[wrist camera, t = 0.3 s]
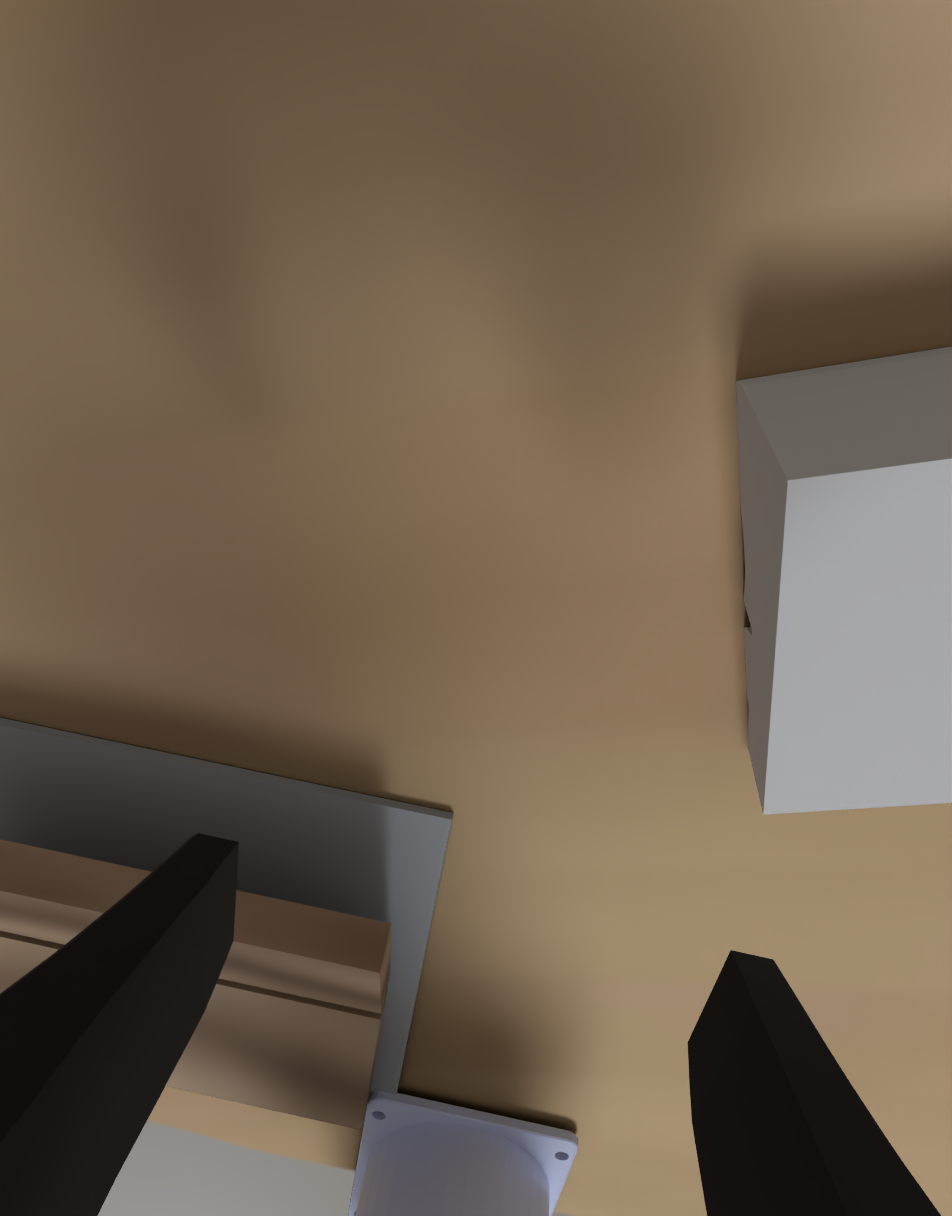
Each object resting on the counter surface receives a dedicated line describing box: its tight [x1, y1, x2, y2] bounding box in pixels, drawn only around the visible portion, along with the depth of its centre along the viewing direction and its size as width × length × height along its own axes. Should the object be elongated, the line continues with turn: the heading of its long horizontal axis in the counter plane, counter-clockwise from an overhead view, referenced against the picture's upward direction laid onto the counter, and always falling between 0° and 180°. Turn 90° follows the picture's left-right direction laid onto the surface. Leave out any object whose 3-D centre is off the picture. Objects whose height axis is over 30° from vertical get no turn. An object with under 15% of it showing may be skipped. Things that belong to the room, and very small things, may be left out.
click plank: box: [0, 839, 391, 1014], centre depth 22 cm, size 7×14×1 cm, turn 81°
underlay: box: [0, 718, 453, 1096], centre depth 26 cm, size 14×16×1 cm
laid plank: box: [0, 931, 388, 1130], centre depth 27 cm, size 6×14×1 cm, turn 80°
